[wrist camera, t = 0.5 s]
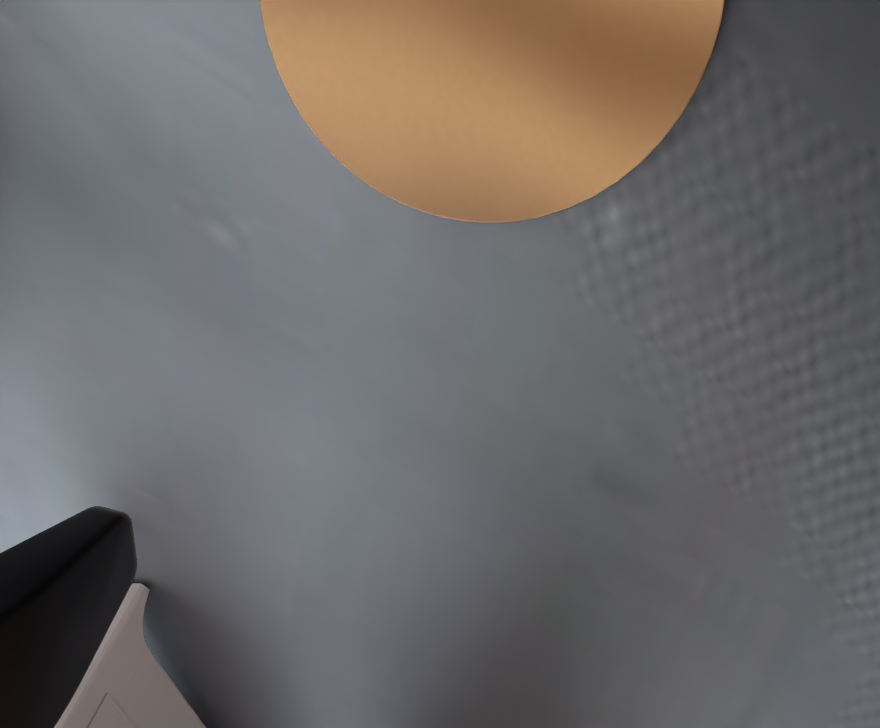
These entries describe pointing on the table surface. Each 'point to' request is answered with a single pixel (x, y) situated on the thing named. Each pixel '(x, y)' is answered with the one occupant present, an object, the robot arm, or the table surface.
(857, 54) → the table surface
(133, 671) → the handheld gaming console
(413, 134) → the coaster
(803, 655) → the table surface
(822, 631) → the table surface
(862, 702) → the table surface
